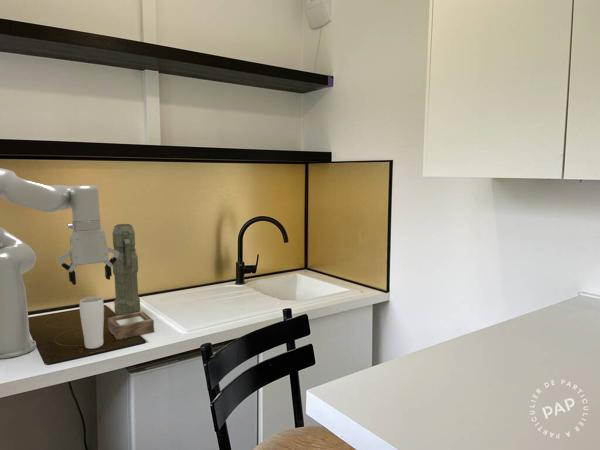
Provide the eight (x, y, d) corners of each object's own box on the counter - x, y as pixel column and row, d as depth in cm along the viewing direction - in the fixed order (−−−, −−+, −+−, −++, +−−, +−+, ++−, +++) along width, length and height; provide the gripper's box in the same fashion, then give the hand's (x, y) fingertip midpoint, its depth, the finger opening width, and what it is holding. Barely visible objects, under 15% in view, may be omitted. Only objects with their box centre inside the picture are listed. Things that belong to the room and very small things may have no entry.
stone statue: (121, 324, 158) (116, 227, 154) (110, 316, 167) (105, 224, 163) (146, 318, 164) (141, 225, 160) (133, 311, 173) (129, 222, 168)
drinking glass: (103, 340, 143) (100, 295, 141) (108, 346, 138) (105, 300, 136) (80, 345, 139) (77, 298, 137) (84, 352, 134) (81, 304, 132)
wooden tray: (116, 340, 143) (116, 327, 143) (108, 329, 153) (107, 317, 152) (154, 332, 150) (153, 320, 150) (143, 322, 160) (142, 311, 159)
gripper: (56, 230, 126) (61, 288, 128) (120, 224, 136) (123, 279, 138) (53, 227, 132) (57, 283, 134) (114, 222, 142) (117, 274, 144)
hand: (91, 281), depth 136 cm, fingers open, 9 cm apart
